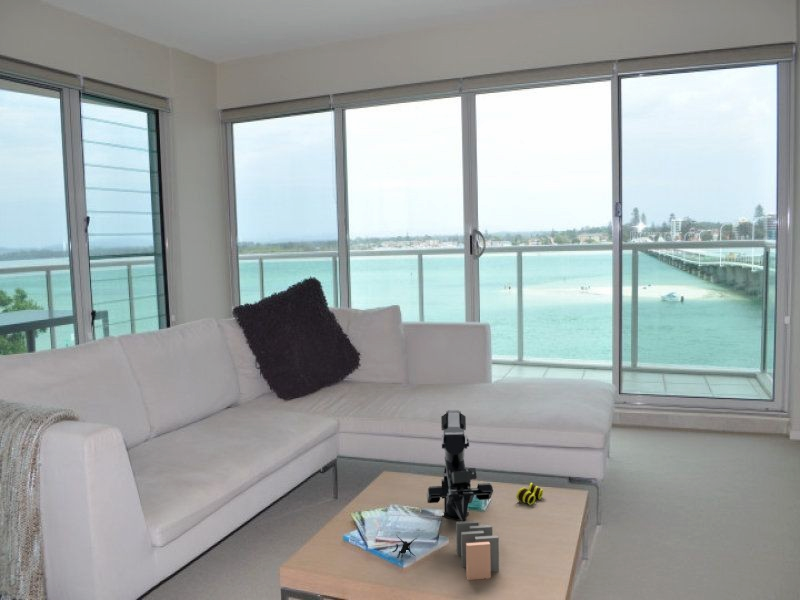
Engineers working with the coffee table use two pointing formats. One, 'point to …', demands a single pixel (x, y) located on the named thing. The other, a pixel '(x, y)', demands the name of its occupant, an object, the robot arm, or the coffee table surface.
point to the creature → (404, 547)
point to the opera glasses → (529, 494)
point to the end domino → (478, 560)
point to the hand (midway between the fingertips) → (463, 521)
